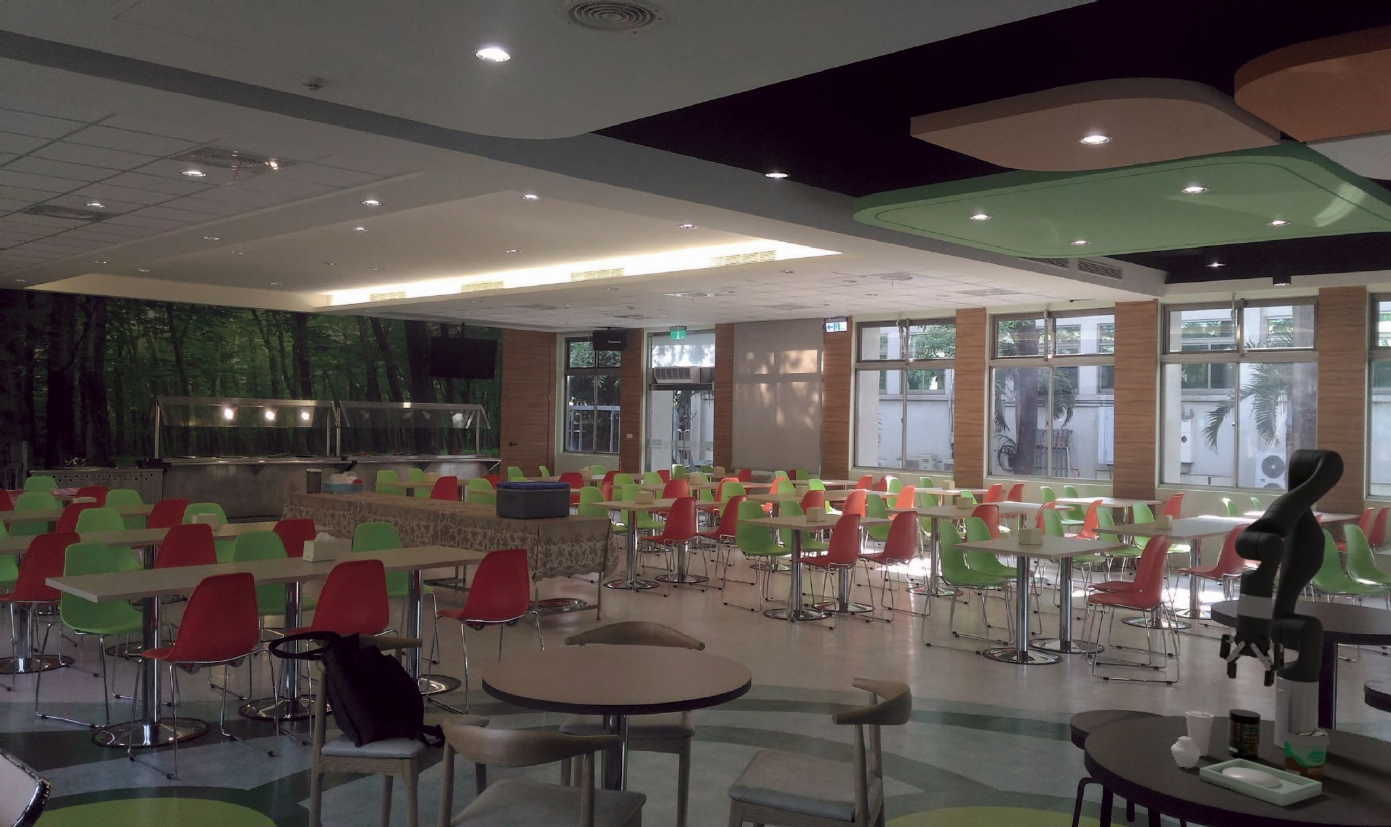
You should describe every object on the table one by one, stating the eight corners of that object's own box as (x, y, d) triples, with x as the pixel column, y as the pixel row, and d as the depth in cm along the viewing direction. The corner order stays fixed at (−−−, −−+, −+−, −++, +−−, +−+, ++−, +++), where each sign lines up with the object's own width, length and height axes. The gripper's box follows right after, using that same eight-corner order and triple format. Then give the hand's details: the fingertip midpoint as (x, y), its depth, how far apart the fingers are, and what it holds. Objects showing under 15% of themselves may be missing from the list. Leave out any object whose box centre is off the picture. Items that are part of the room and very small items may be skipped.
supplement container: (1266, 759, 242) (1267, 715, 242) (1246, 762, 239) (1247, 717, 240) (1241, 750, 248) (1242, 708, 248) (1221, 753, 246) (1222, 710, 246)
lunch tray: (1238, 769, 234) (1239, 758, 234) (1321, 794, 219) (1321, 782, 219) (1199, 779, 225) (1199, 768, 225) (1282, 806, 210) (1282, 794, 210)
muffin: (1203, 767, 234) (1204, 736, 234) (1195, 772, 230) (1196, 741, 230) (1175, 760, 239) (1176, 730, 239) (1166, 765, 234) (1167, 735, 234)
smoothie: (1216, 759, 240) (1218, 700, 241) (1187, 757, 242) (1189, 698, 242) (1208, 751, 247) (1210, 694, 247) (1180, 748, 248) (1182, 691, 248)
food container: (1308, 785, 224) (1309, 740, 224) (1281, 776, 230) (1282, 732, 230) (1341, 778, 230) (1342, 734, 230) (1313, 769, 235) (1315, 726, 236)
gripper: (1293, 620, 240) (1288, 689, 239) (1233, 610, 252) (1228, 675, 251) (1276, 619, 236) (1271, 689, 235) (1217, 609, 248) (1212, 676, 247)
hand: (1249, 682), depth 243 cm, fingers open, 8 cm apart
